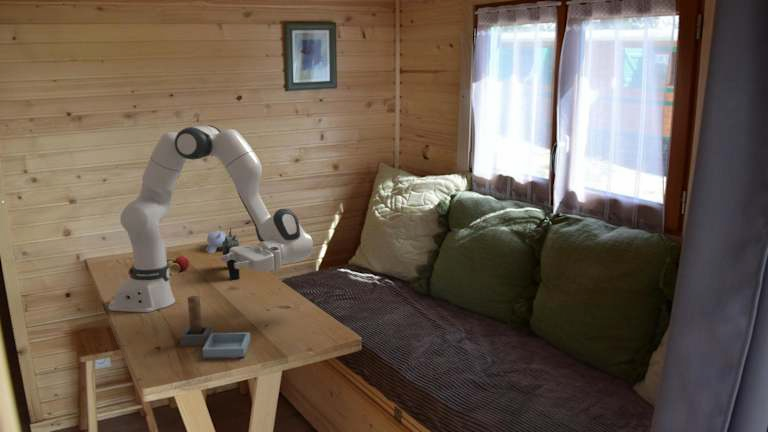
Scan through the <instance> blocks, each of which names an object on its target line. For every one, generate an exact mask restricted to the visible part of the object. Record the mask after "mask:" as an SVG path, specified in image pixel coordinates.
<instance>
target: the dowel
mask: <svg viewBox="0 0 768 432" xmlns="http://www.w3.org/2000/svg"><path fill="white" fill-rule="evenodd" d="M200 299H201V298H200V296H199V295H192V296H191V295H190V296H188V297H187V306H188V307H187V308H188V317H189V318H188V319H189V326H190V332H191V334H203V333H202V326H203V323H202V311H201V300H200Z"/></svg>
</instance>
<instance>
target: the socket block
mask: <svg viewBox="0 0 768 432" xmlns="http://www.w3.org/2000/svg"><path fill="white" fill-rule="evenodd" d="M202 333H203V334H191V332H190V325H189V326H186V327H185V329H184V330H183V332H182V333H181V334H180V337H179V338H180V346H181V347H182V346H205V344H206V342H207V340H208V338H209V336H210V334H211V333H213V325H202Z"/></svg>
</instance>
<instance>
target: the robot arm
mask: <svg viewBox="0 0 768 432" xmlns="http://www.w3.org/2000/svg"><path fill="white" fill-rule="evenodd" d="M210 157H216V158H217V159H218V160H219V161H220V162H221V164H222V166H223V167H224V169H225V170H226V172H227V173H228V174H227V175H228V176H229V177H230V178H231V181H232V182H233V184H234V186H235V189H236V192H237V194H238V198H240V201H241V202H242V204H243V206H244V208H245V210H246V212H247V214H248V215H249V218H250V219H251V221H252V223H253V225H254V228H255V233H256V237H257V240H258V241H259V243H258V244H257V246H253V245H251V244H247V245H245V244H244V245H239V246H236V247H232V248H230V253H228V254H227V255H223V254H222V255H221V257H220V258H221V261H222V262H224V263H226V262H227V261H228V260H231V259H232V260H235V261H237V262H235V263H234V267H235V268H236V269H239V270H240V269H250V270H252V271H255V272H258V273H259V272H261V273H262V272H267V271H273V270H274V271H279V270H281V269H282V265H284V264H293V263H298V262H300V261H303V260H305V259H308V258H309V257H310V256H311V255H312V253H313V251H314V250H313V249H314V241H313V238H312V236H311V235H310V234H309V233H307V232H306V230H304V228H303V227H302V226H301V224H300V222H299V218H298V216H297V214H296V213H295V212H294V211H293V210H290V209H289V208H288V209H287V208H280V209H278V210H276V211H274V213H272V214H270V213H269V211H268V208H267V207H266V205H265V203H264V201H263V200H262V198H261V195H260V191H259V188H260V187H259V186H260V181H261V178H262V175H263V174H262V173H263V166H262V165H261V161H260V159H259V157H258V156H257V154H256V153H255V151H254V150H253V148H252V147H251V146H250V144H249V143H248V142H247V140H246V139H245V138H244V137H243V136H242V135H241V133H240V132H239V131H237V130H236V129H233V128H227V129H224V130H221V129H219V128H218V127H216V126H214V125H211V124H210V125H206V124H205V125H203V124H200V125H199V124H198V125H195V126H189V127H185V128H183V129H181V130H180V131H179V132H174V131H169V132H165V133H164V134H163V135H162V136H161V137H160V139H159V140H158V142H157V143H156V145H155V147H154V148H153V150H152V153H151V155H150V157H149V160H148V162H147V164H146V167H145V170H144V172H143V174H142V179H141V181H142V184H141V190H140V193H139V195H138V196H137V198H136V199H135V200H133V201H131V202H129V203H128V204H127V205H126V206H125V207H124V208H123V210H122V212H121V214H120V219H119V220H120V224H121V226H122V227H123V229H124V230H125V231H126V232H127V236H128V238H129V240H130V243H131V244H130V245H131V249H132V255H133V264H132V265H131V266H130V268H129V269H128V271H127V273H128V274H127V275H129V277H128V278H127V279H126V280H125V281H123V282H122V283H121V284H119V286H118V287H117V289H116V290H115V293H114V294H115V295H114V299H112V300H111V301H110V302H109V303H108V311H112V312H128V313H129V312H133V313H150V312H153V311H155V310H159V309H163V308H167V307H169V306H171V305H174V303H175V302H176V298H175V296H174V294H173V291H172V287H171V283H170V276H171V274H170V273H169V266H168V263H167V259H168V257H167V250H166V243H165V240H164V239H163V238H162V236H161V232H160V229H159V224H160V222H162V221H163V220H165V218H166V216H167V215H168V213H169V210H170V206H171V200H172V196H173V192H174V190H175V186H176V185H177V181H178V179H179V176H180V175H181V172H182V170H183V167H184V166H185V163H186V161H187V159H188V160H193V161H194V160H202V159H206V158H210Z"/></svg>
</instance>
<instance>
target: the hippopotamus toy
mask: <svg viewBox="0 0 768 432" xmlns="http://www.w3.org/2000/svg"><path fill="white" fill-rule="evenodd" d="M226 236H227V234H226V233H225V232H223V231H220V230H213V231H210V232H209V233H208V235H207V239H206V241H207V243H208V245H207V247H206V248H205V251H206V252H207V254H214V253H216V251H217V249H218V248H222V249H223V246H222V243H223V241H225V237H226Z"/></svg>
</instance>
